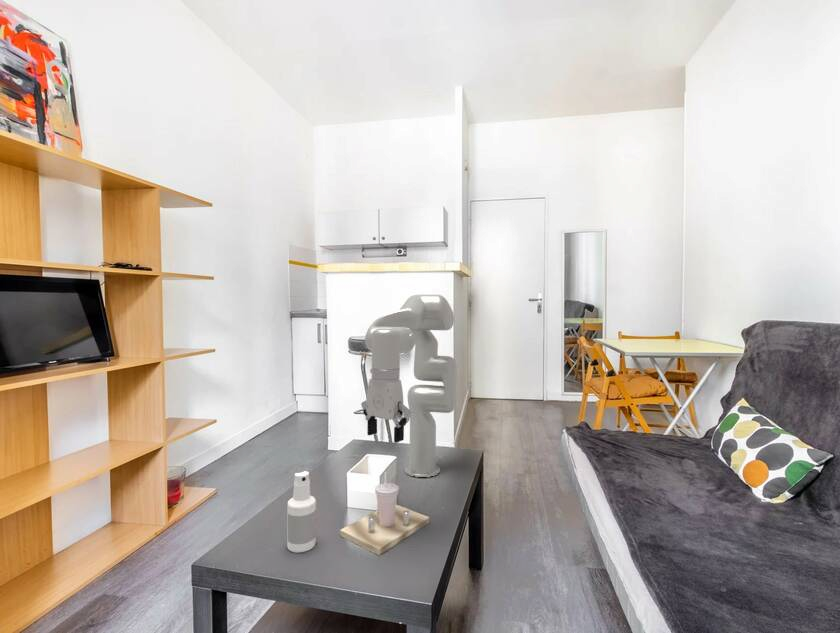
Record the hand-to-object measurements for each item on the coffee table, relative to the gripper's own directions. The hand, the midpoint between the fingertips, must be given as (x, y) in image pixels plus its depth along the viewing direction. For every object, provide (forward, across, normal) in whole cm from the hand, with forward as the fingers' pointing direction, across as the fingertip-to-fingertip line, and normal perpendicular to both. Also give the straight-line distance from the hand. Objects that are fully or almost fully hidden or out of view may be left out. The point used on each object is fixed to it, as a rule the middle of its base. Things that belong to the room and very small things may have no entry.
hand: (385, 437), depth 113 cm
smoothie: (+23, +1, -1) cm, 23 cm away
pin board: (+24, +1, -1) cm, 24 cm away
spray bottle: (+24, -10, -20) cm, 33 cm away
